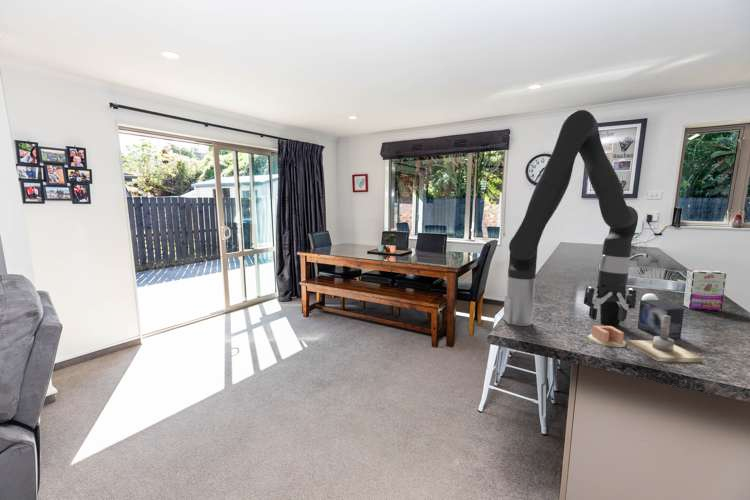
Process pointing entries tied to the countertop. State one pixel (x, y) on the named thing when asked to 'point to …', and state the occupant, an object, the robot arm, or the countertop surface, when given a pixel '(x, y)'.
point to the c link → (607, 334)
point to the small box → (660, 317)
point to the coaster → (610, 343)
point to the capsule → (649, 297)
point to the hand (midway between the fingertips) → (606, 319)
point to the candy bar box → (704, 289)
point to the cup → (610, 313)
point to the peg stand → (664, 347)
